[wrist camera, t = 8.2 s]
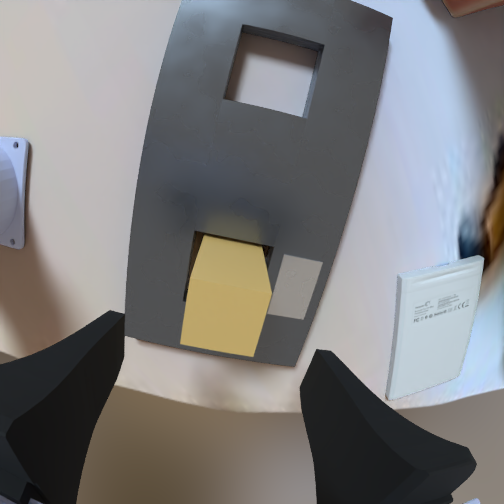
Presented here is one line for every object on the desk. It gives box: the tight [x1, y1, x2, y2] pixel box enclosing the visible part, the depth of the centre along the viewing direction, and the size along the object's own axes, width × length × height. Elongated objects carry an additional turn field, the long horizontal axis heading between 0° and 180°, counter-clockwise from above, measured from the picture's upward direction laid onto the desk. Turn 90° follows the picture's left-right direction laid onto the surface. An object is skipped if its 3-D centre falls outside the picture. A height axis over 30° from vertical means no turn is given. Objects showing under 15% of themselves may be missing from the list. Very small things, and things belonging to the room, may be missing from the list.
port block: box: [125, 0, 393, 367], centre depth 17 cm, size 12×24×2 cm, turn 167°
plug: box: [180, 233, 272, 357], centre depth 17 cm, size 3×3×7 cm
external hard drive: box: [386, 255, 484, 400], centre depth 23 cm, size 2×8×12 cm
